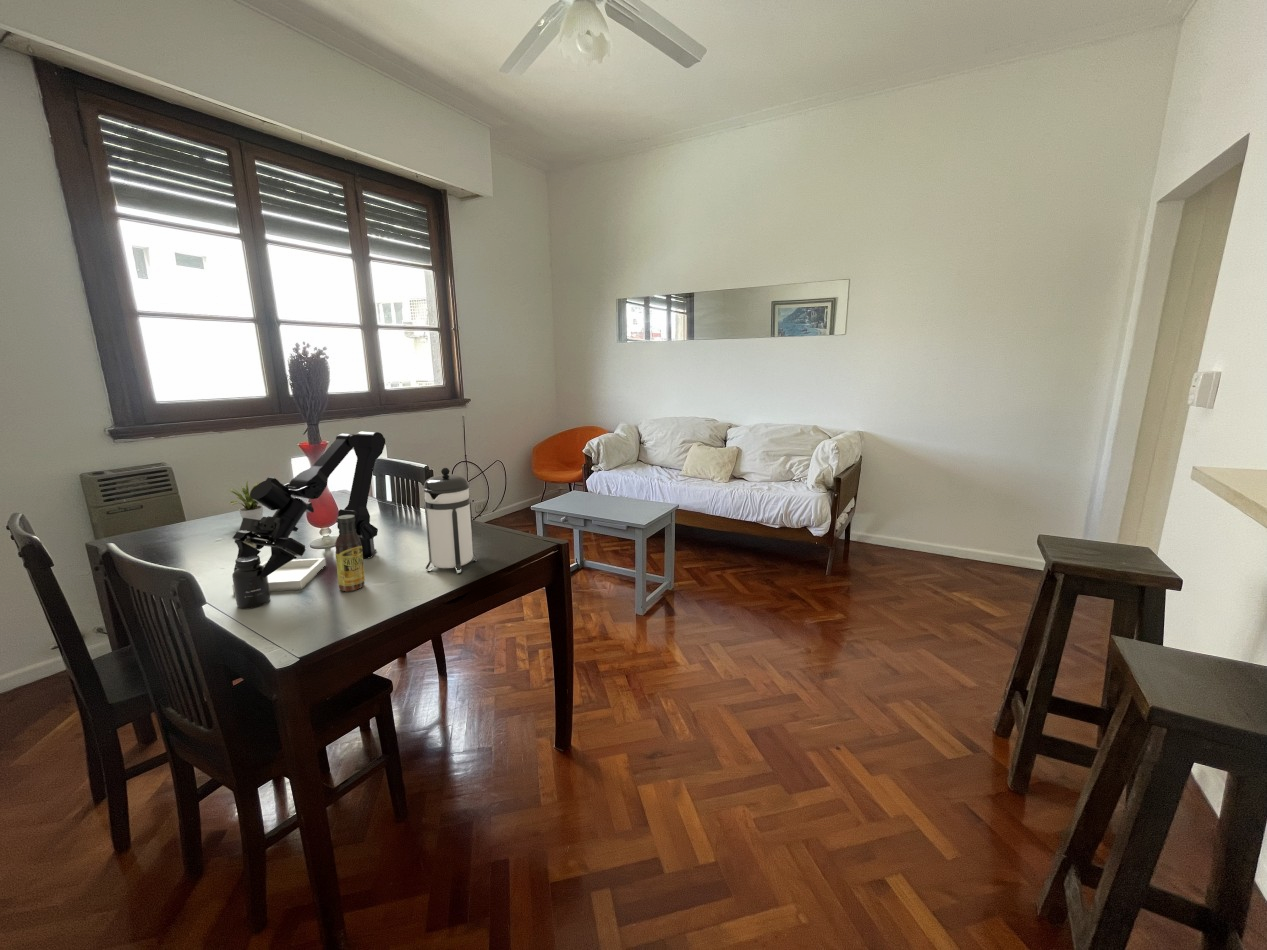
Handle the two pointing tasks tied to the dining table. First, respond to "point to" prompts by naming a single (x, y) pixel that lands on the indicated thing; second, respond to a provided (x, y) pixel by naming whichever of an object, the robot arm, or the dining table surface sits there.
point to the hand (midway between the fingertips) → (248, 574)
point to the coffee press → (448, 520)
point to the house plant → (248, 504)
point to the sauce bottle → (349, 555)
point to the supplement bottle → (250, 583)
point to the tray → (293, 574)
